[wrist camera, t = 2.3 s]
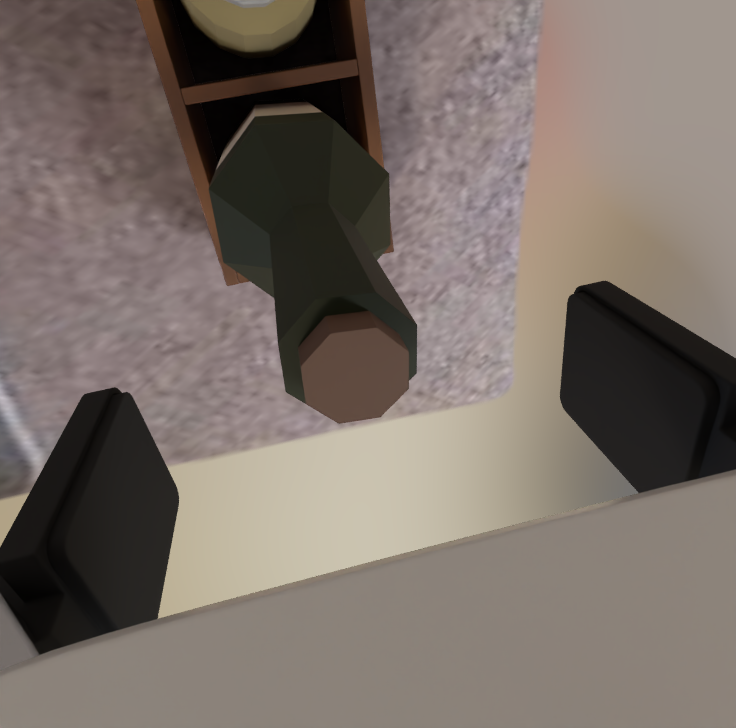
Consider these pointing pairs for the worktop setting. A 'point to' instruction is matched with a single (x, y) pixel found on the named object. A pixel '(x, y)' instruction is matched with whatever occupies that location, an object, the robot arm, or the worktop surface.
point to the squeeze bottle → (251, 24)
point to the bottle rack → (188, 96)
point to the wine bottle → (317, 255)
